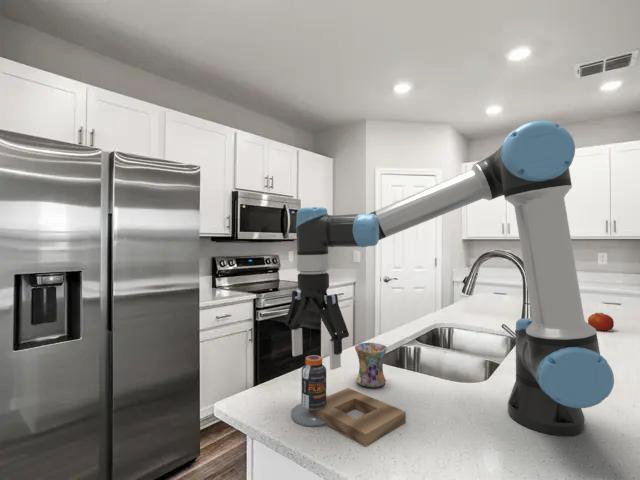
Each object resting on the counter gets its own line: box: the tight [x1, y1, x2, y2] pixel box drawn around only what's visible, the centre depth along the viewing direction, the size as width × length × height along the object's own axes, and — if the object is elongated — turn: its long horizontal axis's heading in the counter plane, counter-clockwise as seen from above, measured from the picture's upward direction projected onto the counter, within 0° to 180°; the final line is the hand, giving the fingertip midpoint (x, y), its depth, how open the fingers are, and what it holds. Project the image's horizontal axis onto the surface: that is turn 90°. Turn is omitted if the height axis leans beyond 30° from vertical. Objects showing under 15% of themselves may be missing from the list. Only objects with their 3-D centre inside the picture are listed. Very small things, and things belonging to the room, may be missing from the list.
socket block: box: [308, 387, 407, 447], centre depth 84 cm, size 18×14×2 cm
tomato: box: [587, 312, 615, 332], centre depth 163 cm, size 9×9×8 cm
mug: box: [354, 342, 388, 388], centre depth 106 cm, size 12×9×11 cm
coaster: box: [290, 403, 328, 428], centre depth 86 cm, size 11×11×1 cm
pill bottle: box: [300, 354, 327, 409], centre depth 86 cm, size 6×6×11 cm
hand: (315, 361), depth 86 cm, fingers open, 13 cm apart
